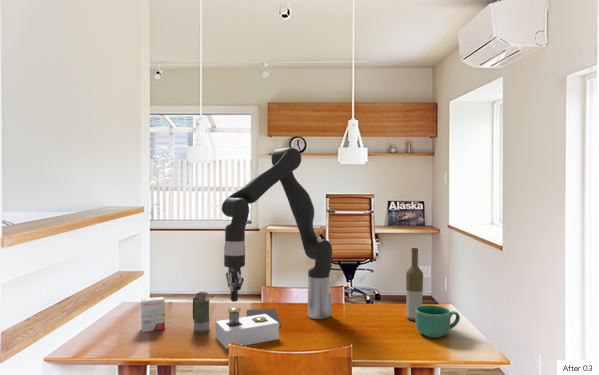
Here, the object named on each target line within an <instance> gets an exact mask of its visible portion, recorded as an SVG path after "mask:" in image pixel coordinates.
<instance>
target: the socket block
mask: <svg viewBox="0 0 599 375" xmlns="http://www.w3.org/2000/svg"><path fill="white" fill-rule="evenodd" d="M255 317H265V318H266V321H265V322H259V323H255V321H254V318H255ZM279 328H280V326H279V323H278V322H277V321H275V320H274V319H272V318H271V317H270V316H268V315H267V314H261V315H255V316H248V317H247V316H243V317H239V326H234V327H229V318H228V319H223V320H216V321H215V339H217V341H218V342H219V343H220V344H221V345H222V347H224V348H225V349H229V348H228V344H229V343H236V344H242V345H244V346H247V345H254V344H258V343H259V344H260V343H264V342H266V343H267V342H271V341H276V340H280V337H279V336H280V332H279V331H280V329H279Z"/></svg>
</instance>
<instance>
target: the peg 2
mask: <svg viewBox="0 0 599 375" xmlns="http://www.w3.org/2000/svg"><path fill="white" fill-rule="evenodd" d="M254 321H255V323H259V322H265V321H266V318H265V317H255V318H254Z"/></svg>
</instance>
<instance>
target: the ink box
mask: <svg viewBox="0 0 599 375" xmlns="http://www.w3.org/2000/svg"><path fill="white" fill-rule="evenodd" d="M140 304H141V305H140V311H141V312H140V314H141V316H140V318H141V319H140V320H141V322H140V323H141V333H145V332H153V331H161V330H165V329H166V322H165V320H166V316H165V314H166V313H165V312H166V311H165V310H166V309H165V308H166V306H165V305H166V304H165V297H164V296H159V297H158V296H157V297H145V298H141V301H140Z"/></svg>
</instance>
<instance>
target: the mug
mask: <svg viewBox="0 0 599 375" xmlns="http://www.w3.org/2000/svg"><path fill="white" fill-rule="evenodd" d="M453 315H455V319H454V321H453V322H452V323H451V318H452V316H453ZM460 320H461V316H460V314H459V313H458V312H457V311H456V310H453V311H452V310H449V308H445V307H444V306H439V305H430V304H429V305H428V304H427V305H426V304H424V305H422V306H418V307H416V310H415V321H414V322H415V327H416V329H417V331H418V332H419V333H421V334H422V335H423V336H425V337H427V338H432V339H433V338H434V339H437V338H442V337H443V336H446V335H447V334H448V333H449V332H450V331H451V330H452V329H453V328H455V327H456V326H457V325H459V323H460Z"/></svg>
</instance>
